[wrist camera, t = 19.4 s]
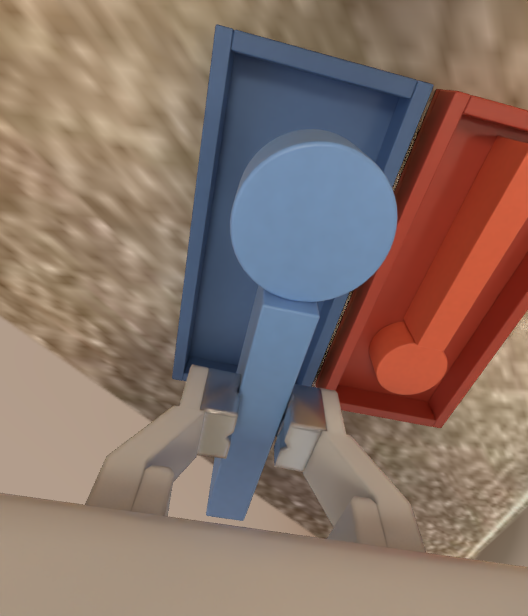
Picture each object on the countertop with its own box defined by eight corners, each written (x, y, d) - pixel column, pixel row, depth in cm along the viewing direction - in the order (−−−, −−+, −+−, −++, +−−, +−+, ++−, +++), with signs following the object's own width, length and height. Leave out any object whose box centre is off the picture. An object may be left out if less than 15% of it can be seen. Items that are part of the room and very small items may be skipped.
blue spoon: (273, 467, 16) (273, 526, 14) (188, 453, 15) (175, 511, 13) (399, 149, 9) (437, 171, 7) (252, 111, 8) (246, 122, 6)
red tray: (610, 136, 15) (649, 144, 14) (430, 404, 24) (441, 428, 22) (436, 88, 14) (455, 90, 13) (315, 383, 23) (317, 406, 21)
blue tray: (417, 83, 14) (434, 84, 13) (302, 380, 23) (304, 403, 21) (222, 29, 14) (215, 24, 12) (179, 357, 22) (171, 379, 21)
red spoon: (472, 128, 15) (503, 136, 13) (553, 150, 15) (595, 161, 13) (359, 364, 22) (367, 394, 20) (417, 375, 22) (431, 406, 20)
